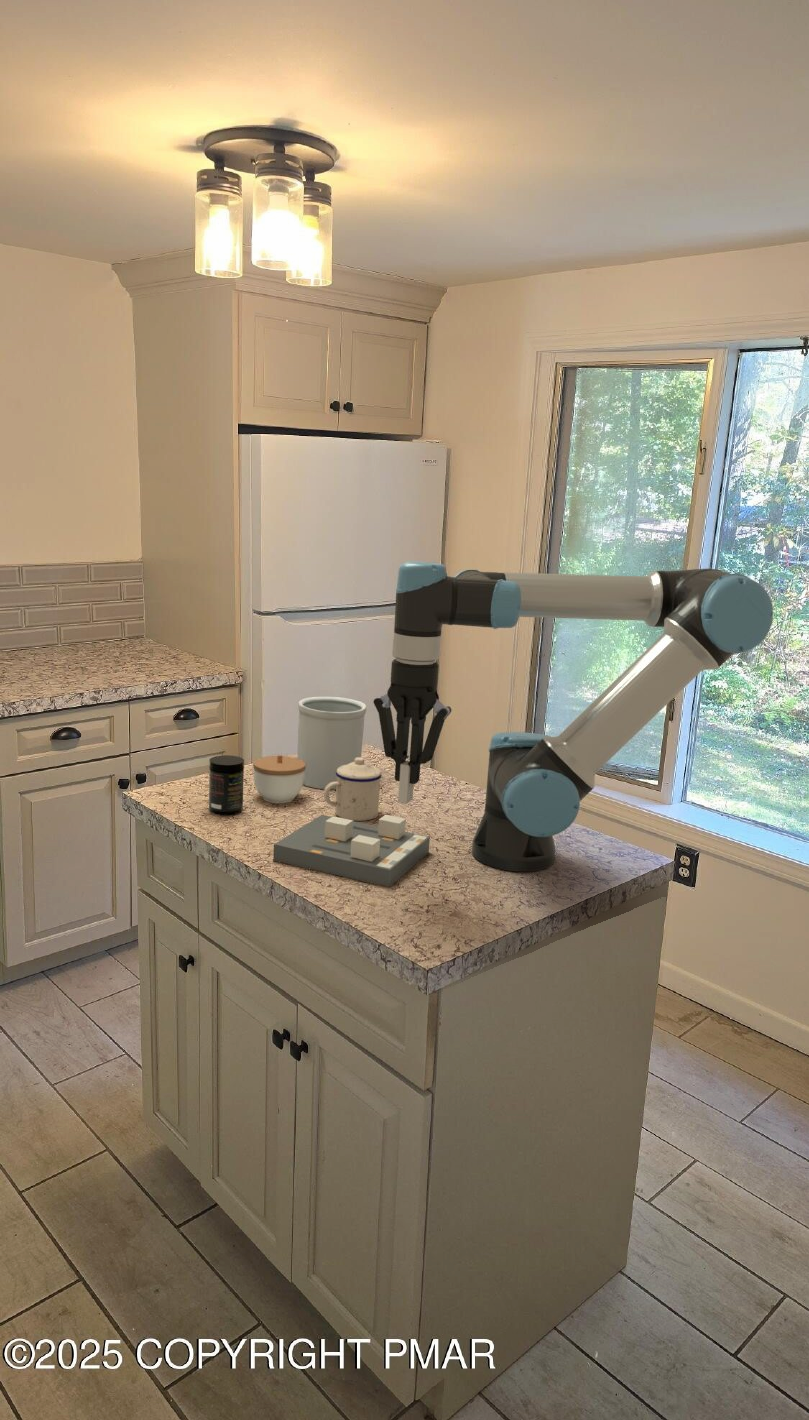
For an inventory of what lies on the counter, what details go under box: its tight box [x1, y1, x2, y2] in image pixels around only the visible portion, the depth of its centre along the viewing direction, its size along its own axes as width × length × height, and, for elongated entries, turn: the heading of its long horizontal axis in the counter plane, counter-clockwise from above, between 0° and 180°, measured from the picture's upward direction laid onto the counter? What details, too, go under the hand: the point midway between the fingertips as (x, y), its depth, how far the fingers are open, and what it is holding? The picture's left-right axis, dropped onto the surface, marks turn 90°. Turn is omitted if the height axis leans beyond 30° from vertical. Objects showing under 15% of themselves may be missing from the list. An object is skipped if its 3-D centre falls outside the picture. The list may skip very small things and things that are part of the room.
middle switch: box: [325, 816, 353, 841], centre depth 174 cm, size 4×3×3 cm
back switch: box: [378, 814, 407, 839], centre depth 176 cm, size 4×3×3 cm
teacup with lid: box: [323, 756, 382, 822], centre depth 193 cm, size 12×9×12 cm
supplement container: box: [208, 754, 245, 816], centre depth 192 cm, size 7×7×10 cm
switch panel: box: [272, 814, 431, 888], centre depth 173 cm, size 22×18×3 cm
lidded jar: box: [252, 754, 306, 805], centre depth 201 cm, size 11×11×9 cm
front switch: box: [350, 835, 380, 862], centre depth 165 cm, size 4×3×3 cm
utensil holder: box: [296, 696, 367, 791], centre depth 214 cm, size 15×15×18 cm
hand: (405, 800), depth 160 cm, fingers closed
